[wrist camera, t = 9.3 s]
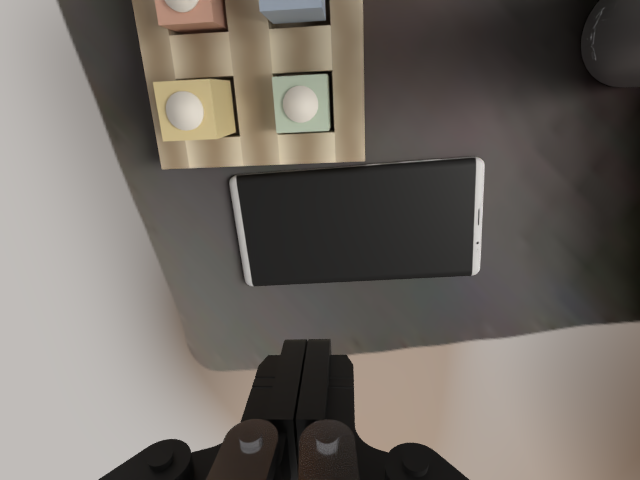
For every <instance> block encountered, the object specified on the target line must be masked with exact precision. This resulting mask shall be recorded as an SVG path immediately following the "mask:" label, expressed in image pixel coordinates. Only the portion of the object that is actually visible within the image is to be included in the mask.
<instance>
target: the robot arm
mask: <svg viewBox="0 0 640 480" xmlns="http://www.w3.org/2000/svg"><path fill="white" fill-rule="evenodd" d="M581 53H582V59H583V61H584V64H585V66H586V68H587V70H588V71H589V72H590V74H591V75H592V76H593V77H594V78H595V79H597V80H598V81H599V82H601V83H604V84H606V85H608V86H614V87H640V0H600V1H599V2H598V3H597V4H596V5H595V7H594V8H593V10H592V11H591V13H590V14H589V16H588V18H587V21H586V23H585V25H584V29H583V33H582V37H581ZM354 421H355V416H354V375H353V364H352V363H351V361H350V359H349V358H348V356H347V355H331V340H330V339H309V340H308V341H307V339H306V340H285V341H284V344H283V348H282V352H281V355H268V356H267V357H266V358H265V359H264V361H263V362H262V363H261V364H260V365H259V367H258V370H257V373H256V376H255V379H254V382H253V385H252V389H251V392H250V395H249V398H248V401H247V404H246V407H245V411H244V414H243V417H242V420H241V423H239V424H237V425H235V426H234V427H233V428H232V429H230V431H229V432H228V433H227V435H226V436H225V438H224V441H223V443H221V444H219V445H217V446H214V447H211V448H208V449H204V450H200V451H196V452H192V453H191V450H190V448H189V446H188V445H187V444H186V443H184V442H183V441H181V440H177V439H168V440H163V441H159V442H157V443H154V444H152V445H150V446H149V447H147V448H146V449H144V450H143V451H141V452H140V453H138V454H137V455H135V456H134V457H132V458H130V459H129V460H127V461H126V462H124V463H123V464H121V465H120V466H118V467H117V468H115V469H114V470H112V471H111V472H110V473H108V474H106V475H105V476H103V477H102V478H100V479H99V480H469V479H468V478H467V477H465V476H464V475H463V474H462V473H461V472H459V471H458V470H457V469H456V468H455V467H453V466H452V465H451V464H450V463H448V462H447V461H446V460H445V459H444V458H442V457H441V456H440V455H439V454H438V453H436V452H435V451H434V450H432V449H431V448H429V447H427V446H425V445H422V444H418V443H404V444H400V445H397V446H396V447H394V448H393V449H391V450H390V452H389V453H388V452H385V451H381V450H378V449H375V448H373V447H371V446H369V445H367V444H366V443H365V442H363V441H362V440H361V438H360V437H359V436H358V434H357V432H356V430H355V422H354Z"/></svg>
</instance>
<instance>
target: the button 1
mask: <svg viewBox="0 0 640 480" xmlns="http://www.w3.org/2000/svg"><path fill="white" fill-rule="evenodd" d="M155 6H156V12H157V19H158V25H159V26H162V27H165V28H167V29H170V30H173V31H176V32H179V33H182V34H184V35H185V34H201V33H216V32H228V24H227V15H226V6H225V0H155Z"/></svg>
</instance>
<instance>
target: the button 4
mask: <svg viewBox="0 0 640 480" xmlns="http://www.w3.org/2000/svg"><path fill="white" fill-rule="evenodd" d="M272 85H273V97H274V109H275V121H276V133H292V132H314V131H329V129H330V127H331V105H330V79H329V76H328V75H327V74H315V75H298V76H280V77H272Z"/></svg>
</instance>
